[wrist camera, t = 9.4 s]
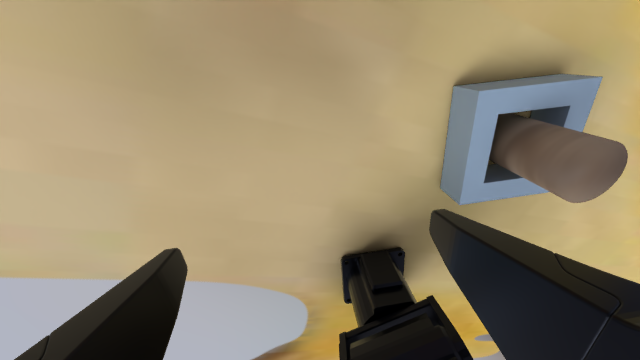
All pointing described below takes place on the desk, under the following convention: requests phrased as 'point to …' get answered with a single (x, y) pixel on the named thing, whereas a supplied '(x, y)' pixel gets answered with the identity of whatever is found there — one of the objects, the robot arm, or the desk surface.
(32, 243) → the desk surface
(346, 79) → the desk surface
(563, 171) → the peg
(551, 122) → the socket
